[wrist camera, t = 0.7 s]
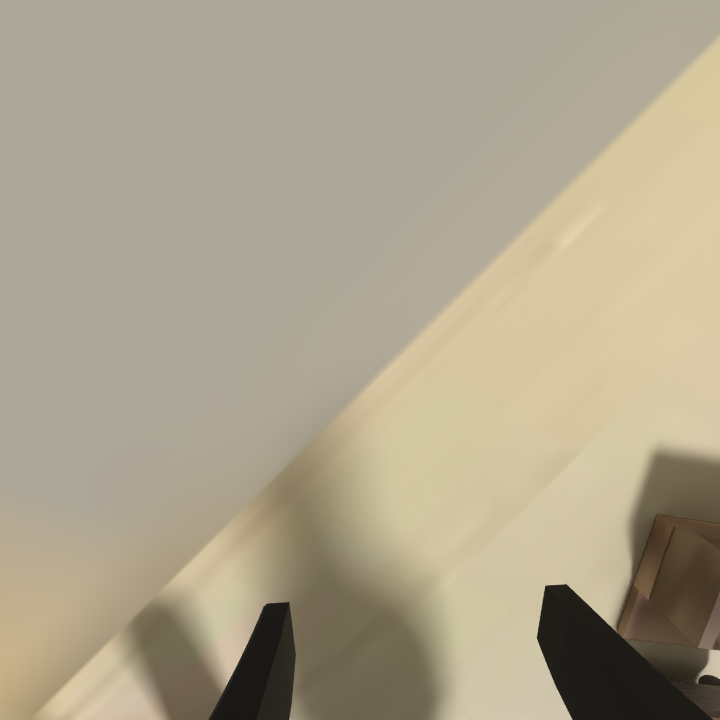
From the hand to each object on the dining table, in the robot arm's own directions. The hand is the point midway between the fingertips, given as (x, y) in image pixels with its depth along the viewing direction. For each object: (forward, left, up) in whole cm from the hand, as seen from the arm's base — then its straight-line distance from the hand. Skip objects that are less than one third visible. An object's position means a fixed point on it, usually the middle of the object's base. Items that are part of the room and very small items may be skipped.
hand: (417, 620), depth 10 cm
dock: (-5, -22, -11) cm, 25 cm away
